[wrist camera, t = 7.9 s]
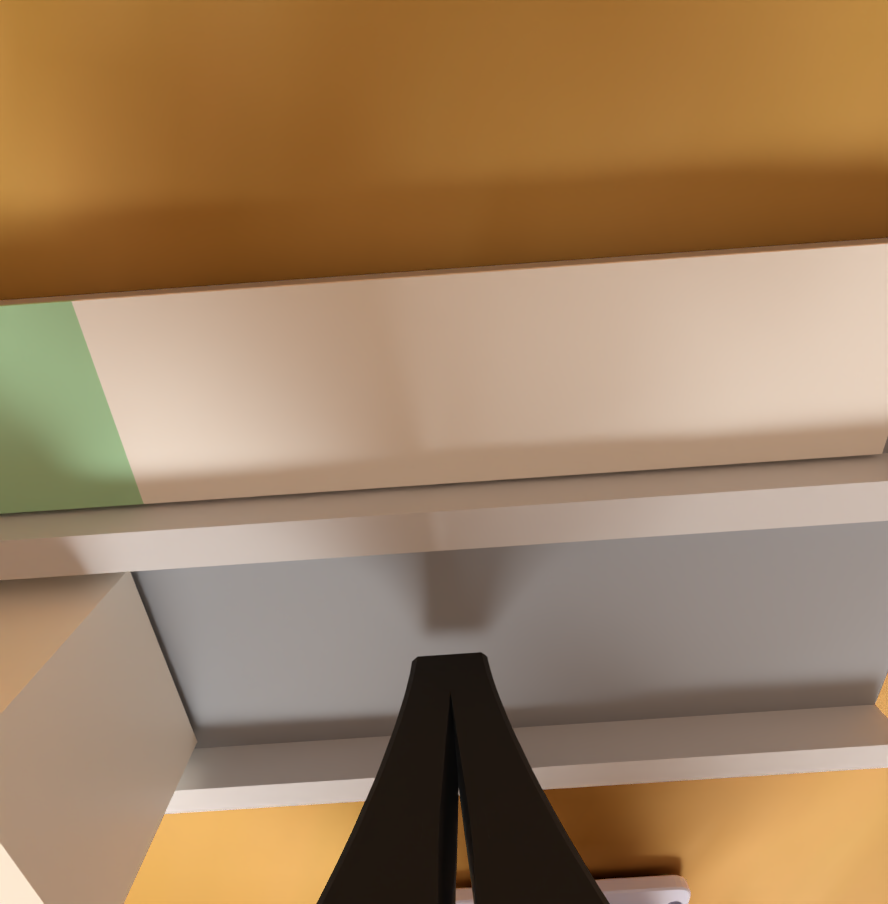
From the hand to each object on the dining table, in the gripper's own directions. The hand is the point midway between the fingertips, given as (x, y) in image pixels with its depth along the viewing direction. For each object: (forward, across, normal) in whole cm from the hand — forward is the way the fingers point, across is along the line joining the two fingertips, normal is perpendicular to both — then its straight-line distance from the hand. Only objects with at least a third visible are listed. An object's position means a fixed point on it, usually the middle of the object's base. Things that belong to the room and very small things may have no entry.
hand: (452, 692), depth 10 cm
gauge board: (+2, +2, -2) cm, 3 cm away
